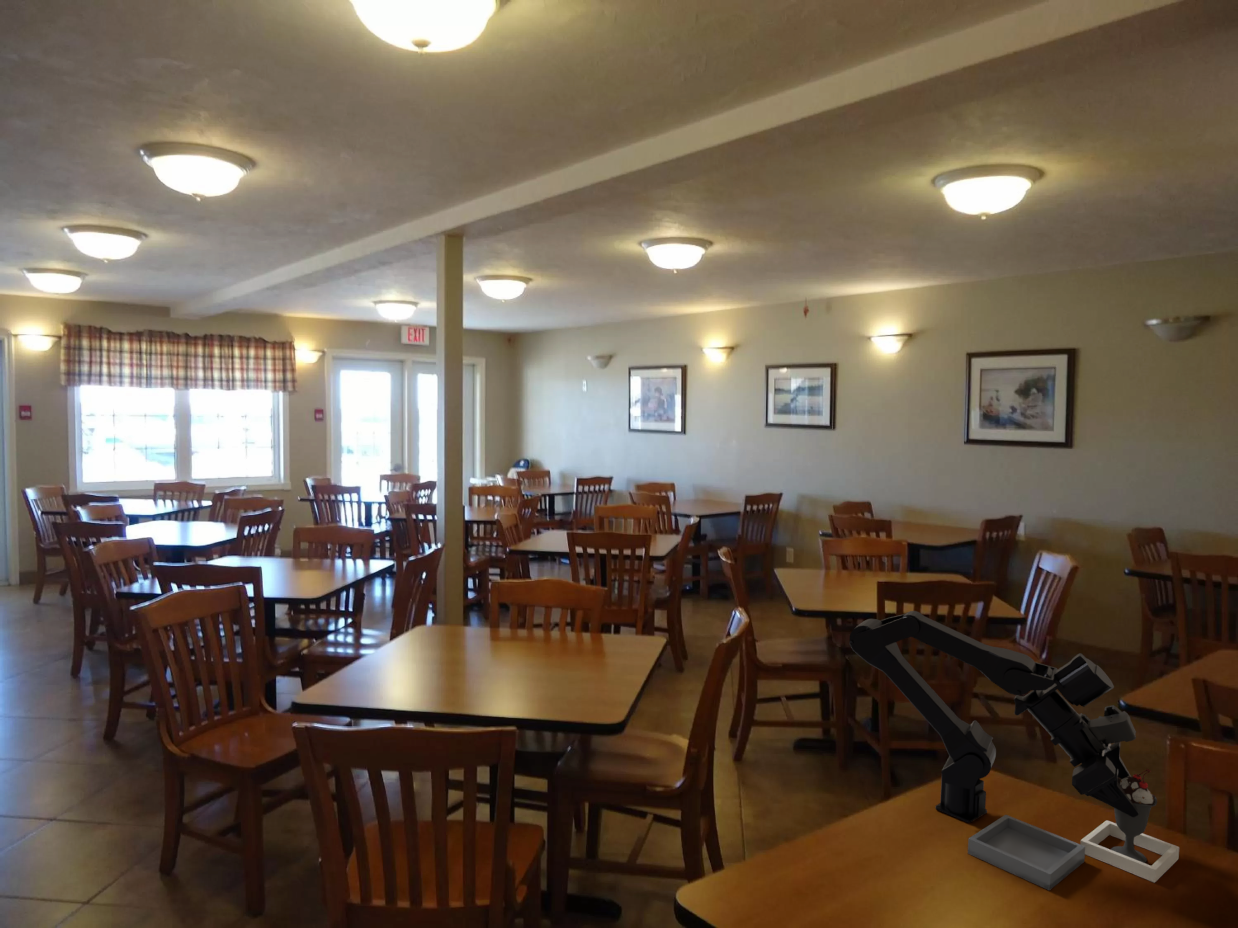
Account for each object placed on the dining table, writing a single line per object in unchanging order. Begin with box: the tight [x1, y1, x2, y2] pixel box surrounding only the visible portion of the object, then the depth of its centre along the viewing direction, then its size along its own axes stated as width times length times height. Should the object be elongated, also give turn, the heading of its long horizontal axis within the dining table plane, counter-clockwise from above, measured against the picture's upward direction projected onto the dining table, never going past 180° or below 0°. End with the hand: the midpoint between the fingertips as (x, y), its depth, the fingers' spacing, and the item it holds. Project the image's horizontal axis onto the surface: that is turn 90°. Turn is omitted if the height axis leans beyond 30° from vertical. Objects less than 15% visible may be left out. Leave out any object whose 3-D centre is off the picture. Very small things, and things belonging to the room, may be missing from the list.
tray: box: [967, 814, 1086, 891], centre depth 129 cm, size 13×13×2 cm
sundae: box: [1110, 768, 1158, 864], centre depth 130 cm, size 7×7×15 cm
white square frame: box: [1079, 820, 1180, 884], centre depth 130 cm, size 11×11×2 cm
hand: (1136, 803), depth 129 cm, fingers open, 9 cm apart
